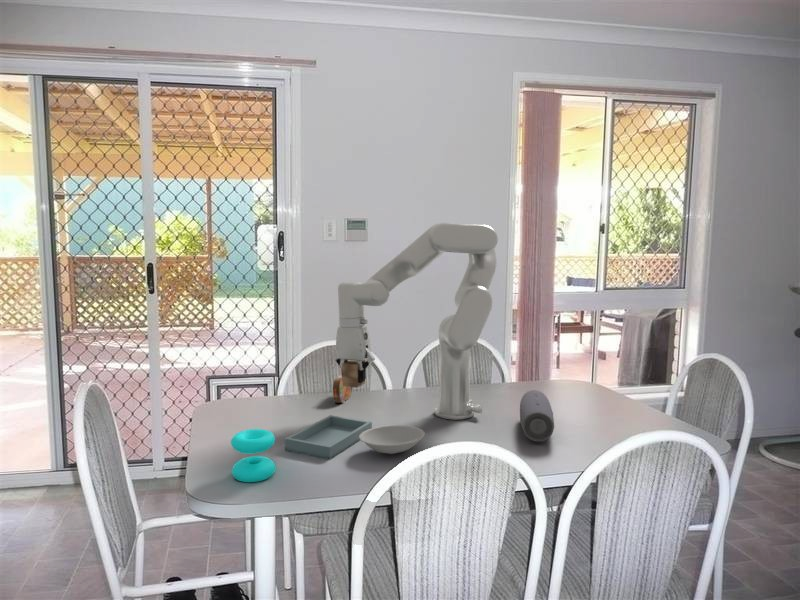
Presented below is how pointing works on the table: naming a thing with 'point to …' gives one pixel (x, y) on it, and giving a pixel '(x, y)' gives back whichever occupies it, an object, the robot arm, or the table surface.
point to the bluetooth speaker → (536, 416)
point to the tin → (340, 390)
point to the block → (350, 374)
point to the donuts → (254, 465)
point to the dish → (391, 438)
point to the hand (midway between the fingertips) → (353, 380)
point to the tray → (327, 437)
